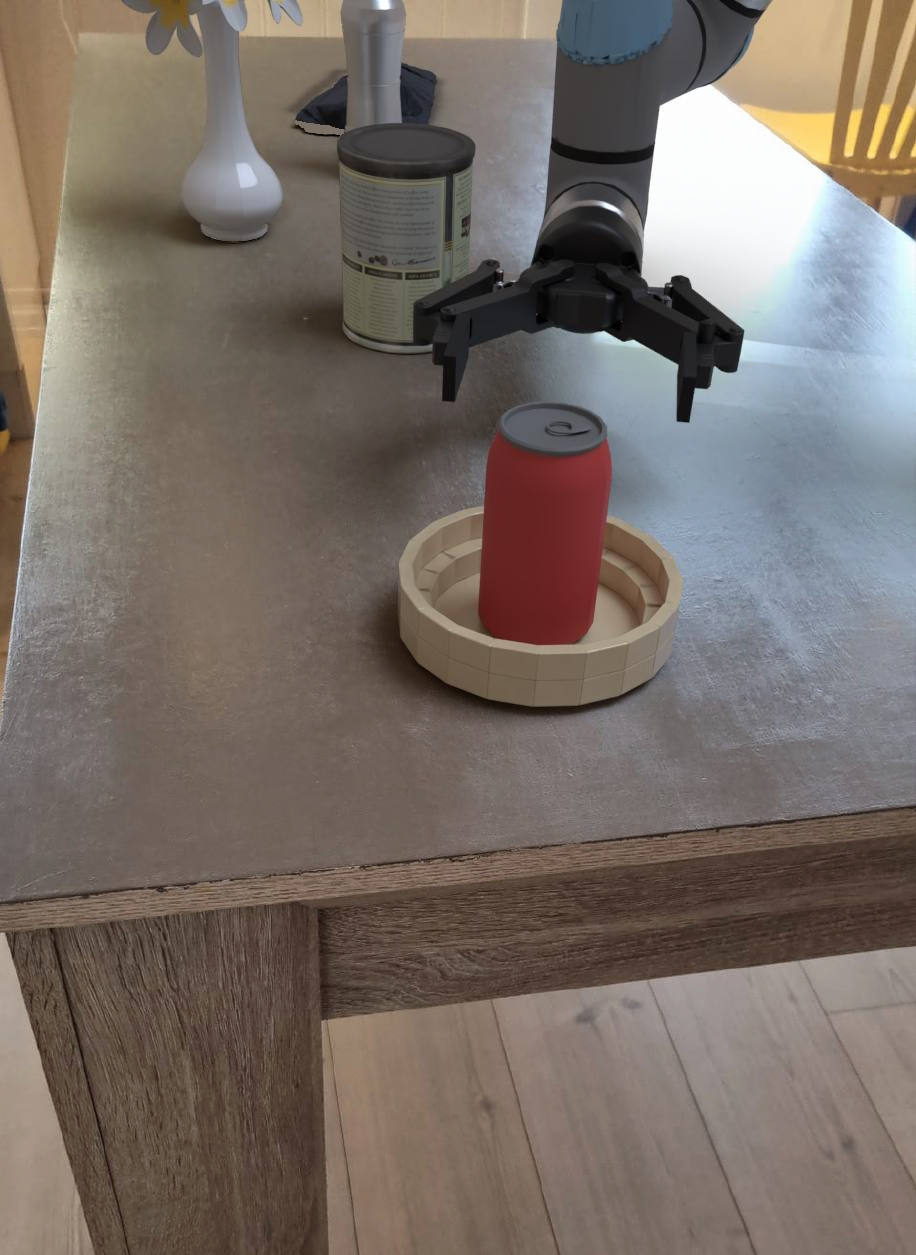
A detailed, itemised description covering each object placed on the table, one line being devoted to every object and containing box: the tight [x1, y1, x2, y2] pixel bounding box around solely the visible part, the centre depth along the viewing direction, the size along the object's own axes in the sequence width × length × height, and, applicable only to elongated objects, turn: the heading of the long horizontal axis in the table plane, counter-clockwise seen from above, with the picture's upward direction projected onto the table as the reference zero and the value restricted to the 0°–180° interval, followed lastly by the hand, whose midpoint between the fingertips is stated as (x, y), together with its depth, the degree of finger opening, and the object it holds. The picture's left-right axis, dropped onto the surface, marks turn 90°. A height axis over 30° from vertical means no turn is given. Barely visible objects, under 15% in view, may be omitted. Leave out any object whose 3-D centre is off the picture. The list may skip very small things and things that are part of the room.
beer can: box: [478, 400, 613, 645], centre depth 70 cm, size 7×7×12 cm
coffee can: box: [336, 123, 477, 355], centre depth 102 cm, size 10×10×14 cm
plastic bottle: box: [339, 0, 407, 133], centre depth 129 cm, size 6×7×20 cm
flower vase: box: [120, 0, 304, 243], centre depth 113 cm, size 13×18×25 cm
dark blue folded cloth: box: [294, 61, 438, 130], centre depth 152 cm, size 15×22×5 cm
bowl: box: [397, 505, 685, 708], centre depth 73 cm, size 16×16×4 cm
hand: (566, 390), depth 74 cm, fingers open, 13 cm apart
